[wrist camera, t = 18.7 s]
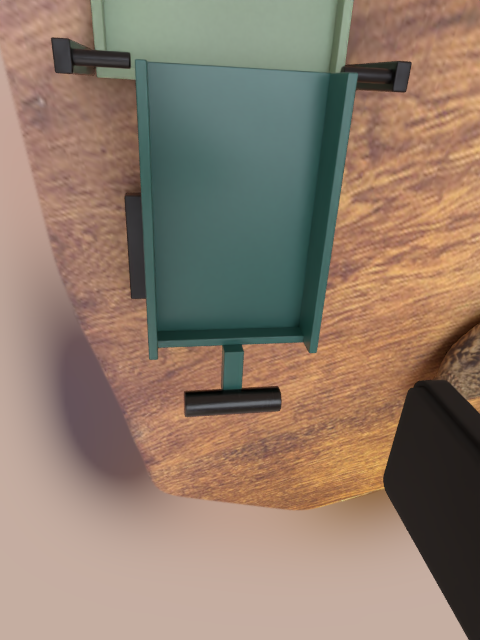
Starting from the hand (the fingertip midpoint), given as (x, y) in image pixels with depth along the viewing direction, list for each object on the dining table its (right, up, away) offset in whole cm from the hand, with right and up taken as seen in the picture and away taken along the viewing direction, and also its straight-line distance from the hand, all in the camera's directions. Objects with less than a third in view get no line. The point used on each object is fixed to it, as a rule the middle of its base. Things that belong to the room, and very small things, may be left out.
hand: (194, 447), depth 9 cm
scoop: (0, +7, +18) cm, 19 cm away
